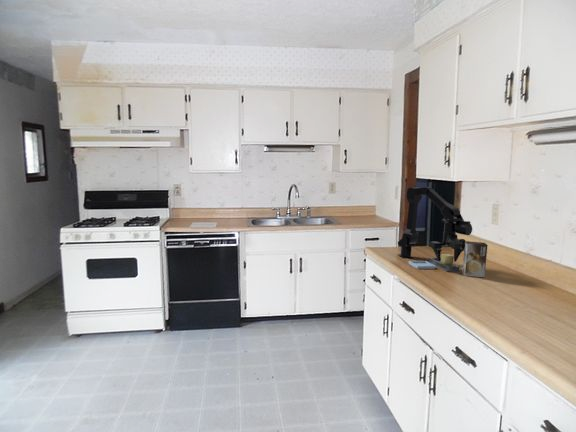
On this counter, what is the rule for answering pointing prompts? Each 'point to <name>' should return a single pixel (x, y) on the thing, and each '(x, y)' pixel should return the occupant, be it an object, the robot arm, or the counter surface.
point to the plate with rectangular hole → (445, 267)
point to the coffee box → (474, 259)
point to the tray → (422, 265)
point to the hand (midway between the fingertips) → (446, 261)
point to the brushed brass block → (447, 259)
